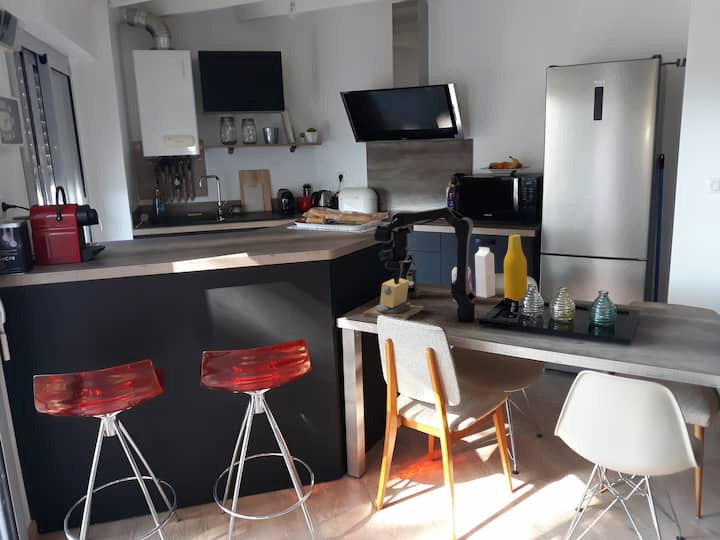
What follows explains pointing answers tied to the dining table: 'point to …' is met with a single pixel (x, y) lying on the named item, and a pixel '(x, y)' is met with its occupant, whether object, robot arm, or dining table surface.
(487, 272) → the milk
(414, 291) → the french press
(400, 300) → the yellow boxy piece
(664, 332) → the dining table surface
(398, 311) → the level base
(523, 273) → the yellow bottle
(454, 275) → the supplement can
